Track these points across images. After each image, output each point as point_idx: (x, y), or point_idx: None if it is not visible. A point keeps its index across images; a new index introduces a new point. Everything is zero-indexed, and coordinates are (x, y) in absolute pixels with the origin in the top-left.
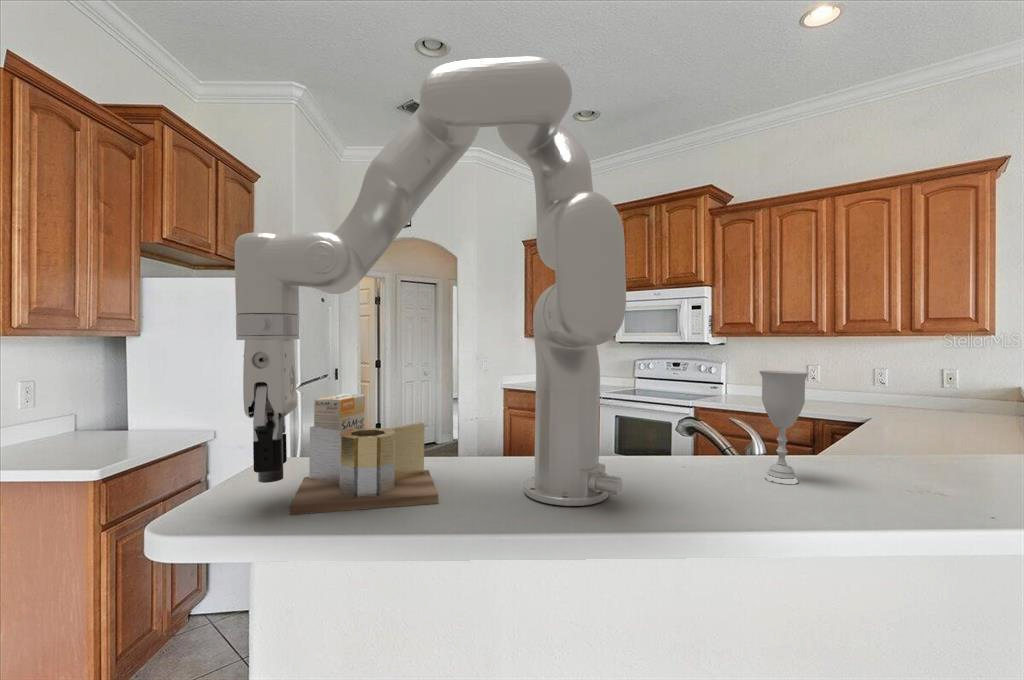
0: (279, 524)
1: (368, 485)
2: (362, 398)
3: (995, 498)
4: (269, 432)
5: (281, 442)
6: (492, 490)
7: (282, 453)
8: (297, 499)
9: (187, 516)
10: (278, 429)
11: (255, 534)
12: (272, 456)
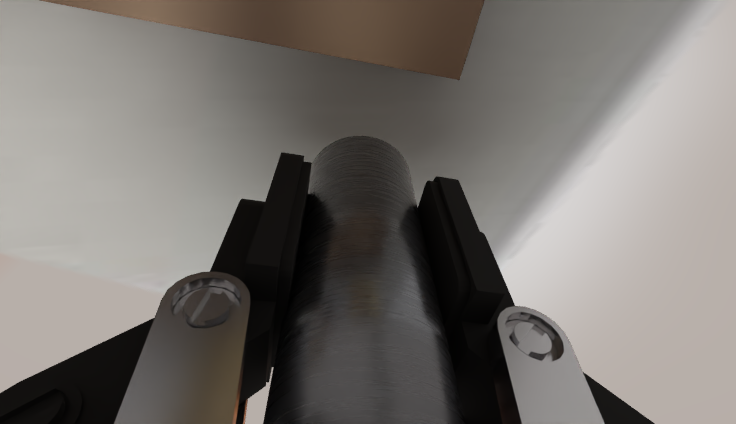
0: (525, 103)
1: None
2: None
3: None
4: (631, 413)
5: (400, 261)
6: None
7: (381, 207)
8: (397, 48)
9: None
10: (515, 374)
11: (563, 164)
12: (494, 258)
